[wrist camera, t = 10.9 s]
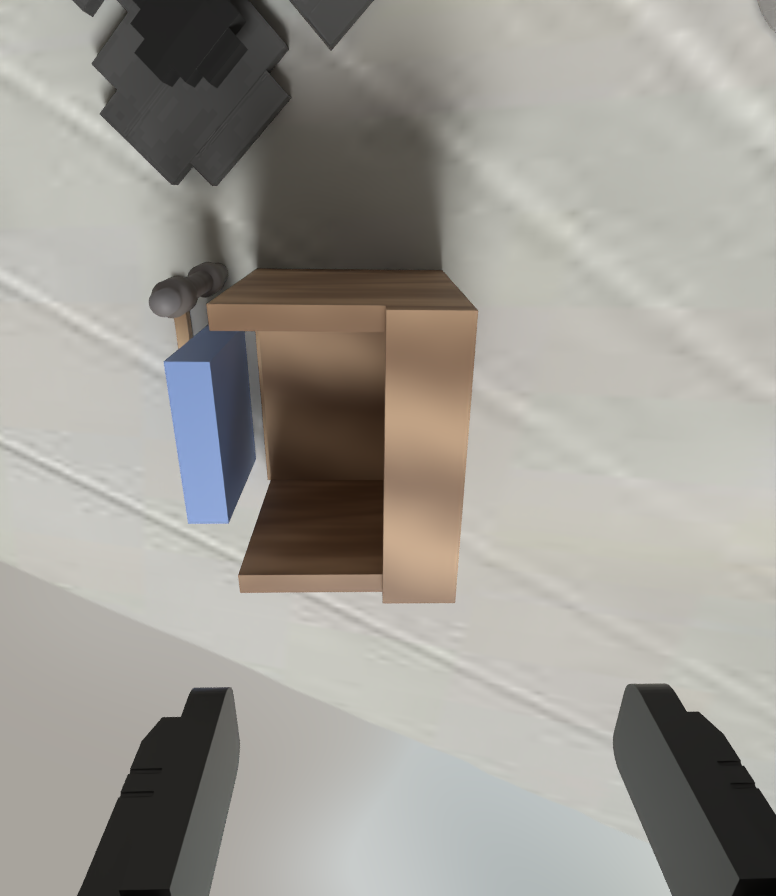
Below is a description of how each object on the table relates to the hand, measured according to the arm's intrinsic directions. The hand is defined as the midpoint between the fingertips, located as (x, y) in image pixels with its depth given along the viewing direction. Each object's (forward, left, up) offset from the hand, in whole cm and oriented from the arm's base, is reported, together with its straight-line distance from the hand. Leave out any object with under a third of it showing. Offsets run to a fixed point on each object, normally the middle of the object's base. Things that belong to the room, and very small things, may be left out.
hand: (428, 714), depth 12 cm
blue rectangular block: (+4, -11, -30) cm, 32 cm away
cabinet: (+3, -5, -30) cm, 31 cm away
